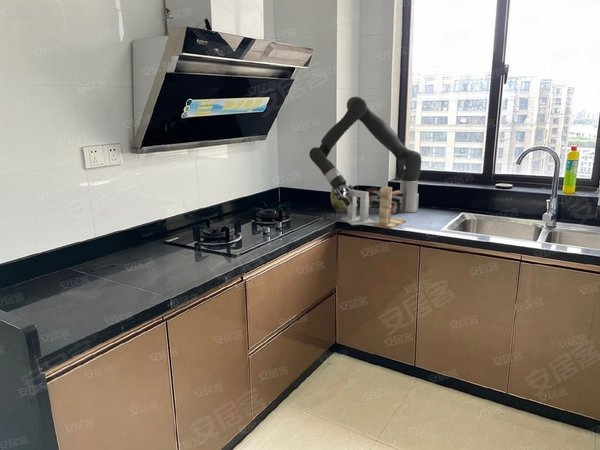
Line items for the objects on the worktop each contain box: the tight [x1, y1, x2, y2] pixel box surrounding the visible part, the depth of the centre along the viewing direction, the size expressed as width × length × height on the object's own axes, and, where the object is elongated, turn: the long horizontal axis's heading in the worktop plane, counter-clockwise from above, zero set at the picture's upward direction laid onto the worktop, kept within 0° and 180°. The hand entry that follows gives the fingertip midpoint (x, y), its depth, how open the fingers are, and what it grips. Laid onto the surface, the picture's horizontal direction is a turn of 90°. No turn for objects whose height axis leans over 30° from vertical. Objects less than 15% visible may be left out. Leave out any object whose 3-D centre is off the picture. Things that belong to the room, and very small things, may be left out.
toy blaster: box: [364, 186, 403, 215], centre depth 240 cm, size 4×21×15 cm, turn 89°
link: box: [347, 189, 370, 222], centre depth 224 cm, size 10×4×15 cm, turn 51°
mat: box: [341, 216, 376, 226], centre depth 225 cm, size 13×13×1 cm
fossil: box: [330, 187, 358, 212], centre depth 250 cm, size 9×18×15 cm, turn 137°
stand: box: [372, 186, 407, 230], centre depth 217 cm, size 17×9×19 cm, turn 141°
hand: (353, 203), depth 225 cm, fingers open, 8 cm apart
